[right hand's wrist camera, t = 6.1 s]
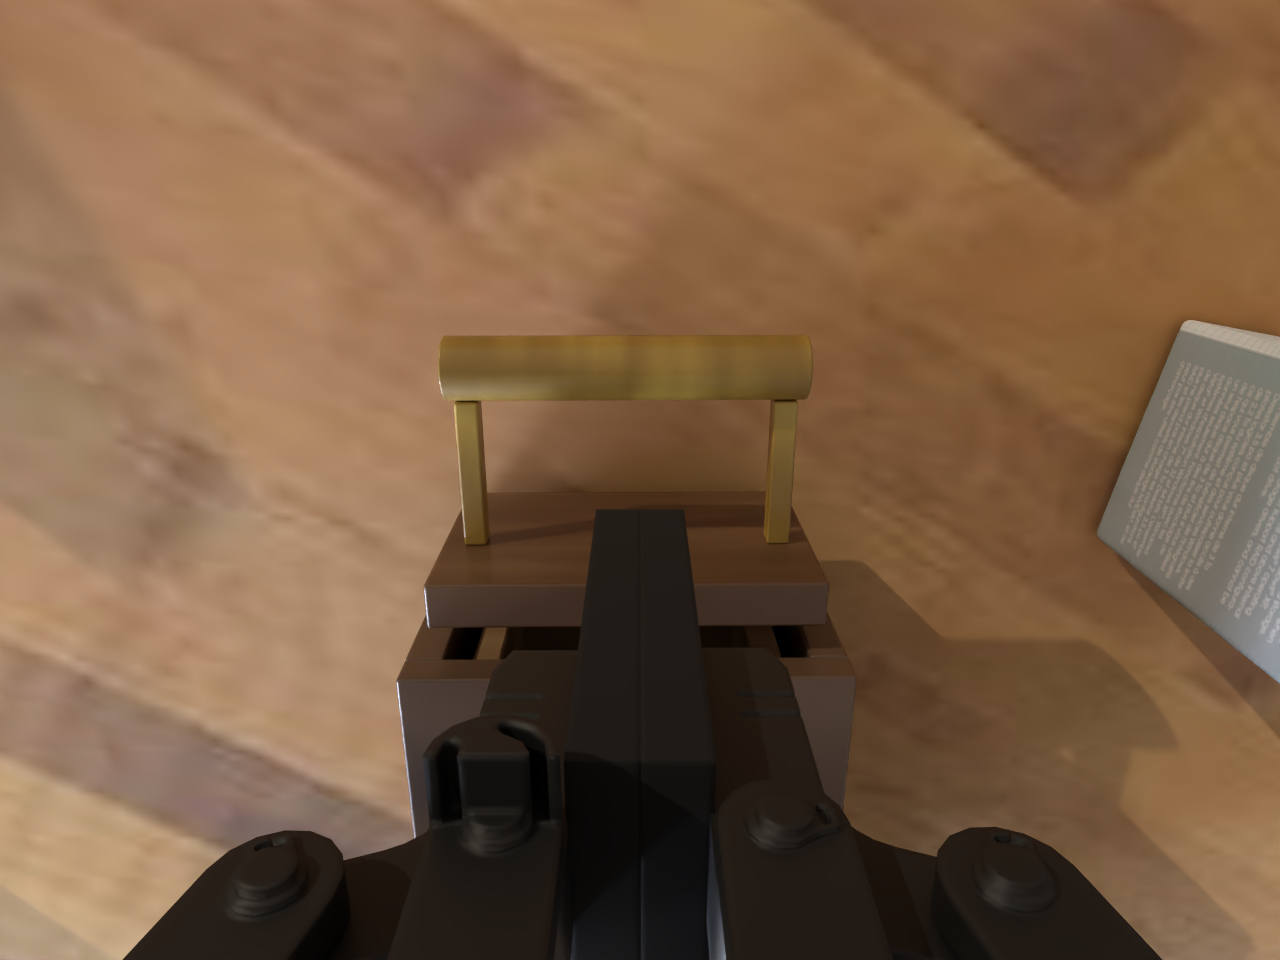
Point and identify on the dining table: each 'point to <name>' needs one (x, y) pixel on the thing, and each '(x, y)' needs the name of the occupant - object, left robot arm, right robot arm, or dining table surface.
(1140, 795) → the dining table surface
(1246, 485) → the hard drive box
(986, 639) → the dining table surface
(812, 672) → the cabinet
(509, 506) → the drawer
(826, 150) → the dining table surface
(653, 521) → the right robot arm
